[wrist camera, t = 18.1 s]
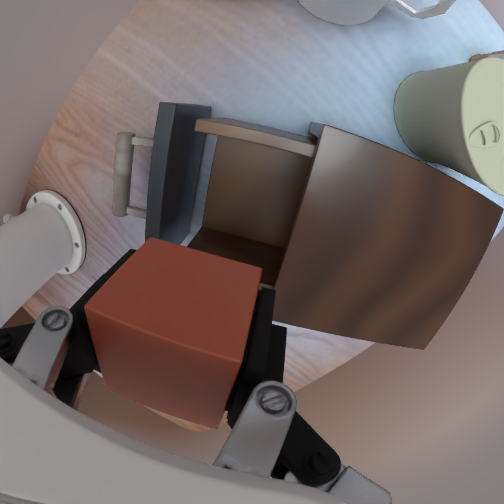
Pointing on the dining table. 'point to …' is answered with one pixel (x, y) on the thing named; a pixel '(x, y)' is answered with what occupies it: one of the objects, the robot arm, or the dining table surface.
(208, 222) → the drawer
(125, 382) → the block
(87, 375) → the robot arm
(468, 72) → the can
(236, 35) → the dining table surface
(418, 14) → the cup
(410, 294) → the cabinet
